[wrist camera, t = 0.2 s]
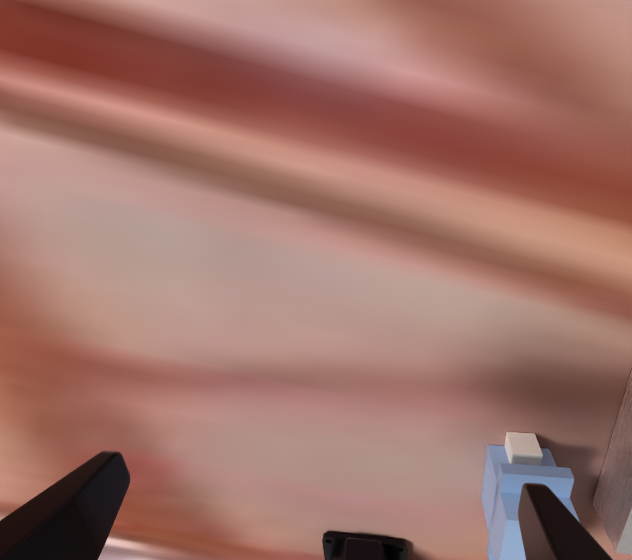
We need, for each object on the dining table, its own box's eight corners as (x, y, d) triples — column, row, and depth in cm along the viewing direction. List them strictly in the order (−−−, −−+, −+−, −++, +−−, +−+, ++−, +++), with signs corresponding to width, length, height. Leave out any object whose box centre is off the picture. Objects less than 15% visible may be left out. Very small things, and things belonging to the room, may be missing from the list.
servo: (534, 516, 28) (560, 598, 24) (479, 511, 29) (494, 590, 25) (553, 430, 25) (587, 507, 21) (489, 427, 26) (509, 500, 21)
